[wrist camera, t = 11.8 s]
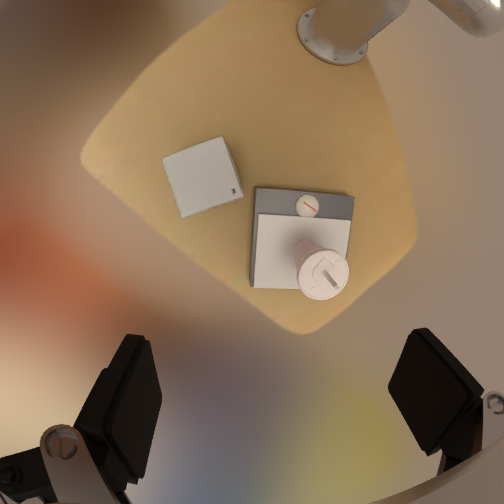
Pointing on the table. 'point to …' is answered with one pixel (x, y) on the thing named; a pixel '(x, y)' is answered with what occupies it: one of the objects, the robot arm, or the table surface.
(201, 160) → the supplement box
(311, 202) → the scale
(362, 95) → the table surface
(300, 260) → the smoothie
